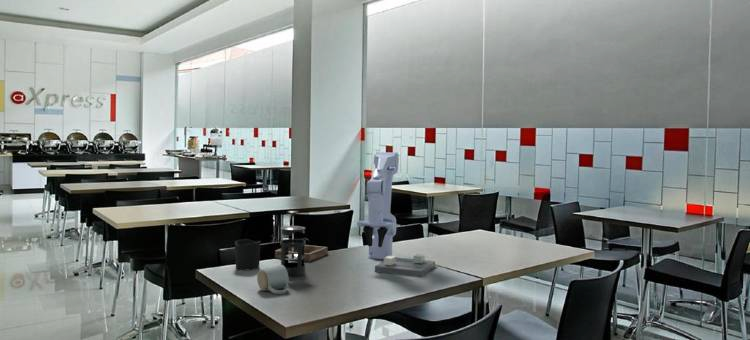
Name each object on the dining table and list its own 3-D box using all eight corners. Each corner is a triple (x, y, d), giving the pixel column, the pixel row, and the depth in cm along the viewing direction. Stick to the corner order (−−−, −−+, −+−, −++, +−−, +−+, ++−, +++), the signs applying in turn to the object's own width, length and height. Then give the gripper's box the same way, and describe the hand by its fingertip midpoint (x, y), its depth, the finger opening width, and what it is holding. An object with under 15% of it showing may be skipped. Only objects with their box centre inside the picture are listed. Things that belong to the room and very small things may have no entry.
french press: (311, 274, 201) (312, 211, 200) (289, 278, 195) (290, 213, 193) (293, 268, 210) (294, 208, 208) (272, 272, 204) (272, 210, 202)
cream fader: (383, 264, 209) (383, 258, 208) (388, 262, 213) (388, 255, 213) (391, 265, 208) (391, 258, 207) (395, 262, 212) (395, 256, 212)
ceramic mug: (255, 288, 181) (255, 265, 181) (278, 285, 186) (278, 262, 186) (271, 297, 173) (271, 272, 173) (294, 292, 178) (294, 269, 178)
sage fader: (413, 262, 213) (413, 256, 212) (417, 260, 217) (417, 253, 217) (420, 263, 211) (421, 256, 211) (424, 261, 216) (424, 254, 215)
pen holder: (258, 264, 217) (258, 238, 216) (261, 269, 208) (261, 243, 207) (233, 265, 214) (233, 239, 213) (235, 271, 205) (235, 244, 204)
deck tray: (275, 257, 228) (275, 250, 228) (295, 250, 243) (295, 243, 243) (309, 261, 222) (309, 254, 222) (327, 254, 237) (327, 247, 237)
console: (374, 271, 207) (374, 266, 207) (391, 261, 224) (391, 256, 224) (421, 276, 200) (421, 271, 200) (435, 266, 217) (435, 261, 217)
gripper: (354, 210, 210) (353, 246, 211) (389, 213, 205) (389, 249, 206) (361, 208, 217) (361, 243, 218) (396, 211, 211) (395, 246, 212)
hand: (375, 246), depth 212 cm, fingers open, 3 cm apart
